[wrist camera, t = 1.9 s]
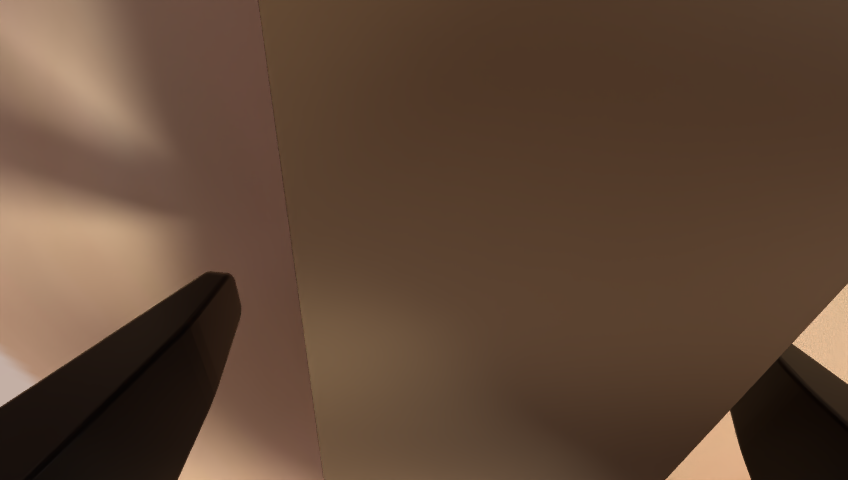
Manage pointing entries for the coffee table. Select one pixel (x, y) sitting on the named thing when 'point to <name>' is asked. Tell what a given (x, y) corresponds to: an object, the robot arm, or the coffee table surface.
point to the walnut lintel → (553, 222)
